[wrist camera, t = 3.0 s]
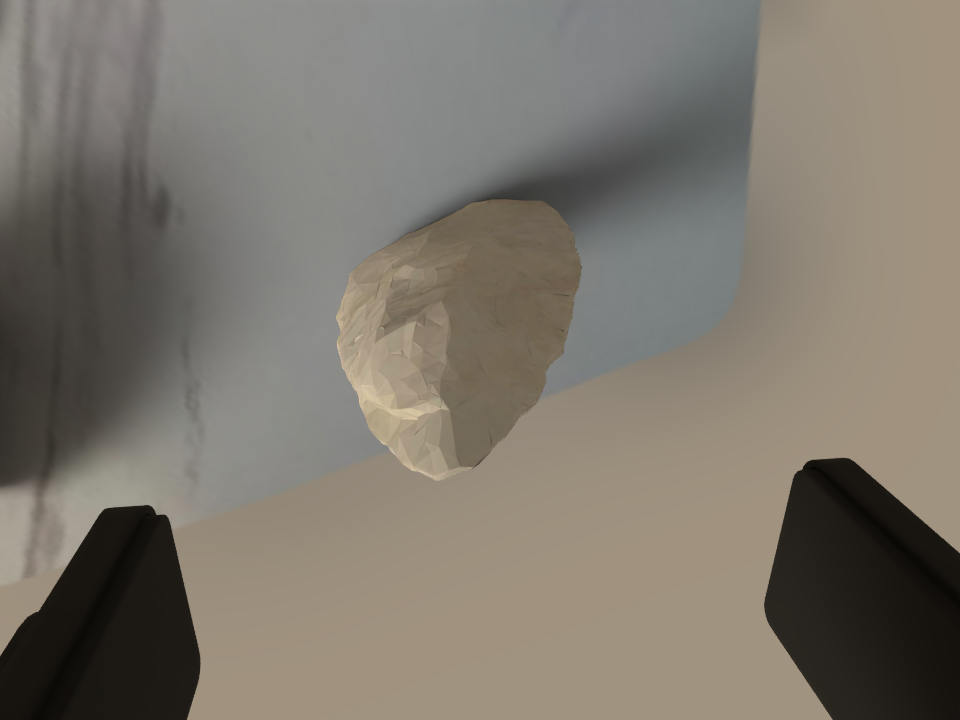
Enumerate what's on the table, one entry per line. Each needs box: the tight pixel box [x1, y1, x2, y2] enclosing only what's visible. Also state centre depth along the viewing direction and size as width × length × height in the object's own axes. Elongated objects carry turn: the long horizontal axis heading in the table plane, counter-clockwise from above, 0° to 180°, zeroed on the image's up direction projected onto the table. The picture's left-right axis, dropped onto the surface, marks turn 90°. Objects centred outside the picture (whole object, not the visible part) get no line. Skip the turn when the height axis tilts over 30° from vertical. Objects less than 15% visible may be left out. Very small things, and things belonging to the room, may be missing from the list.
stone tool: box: [336, 199, 582, 481], centre depth 19 cm, size 8×3×15 cm, turn 114°
